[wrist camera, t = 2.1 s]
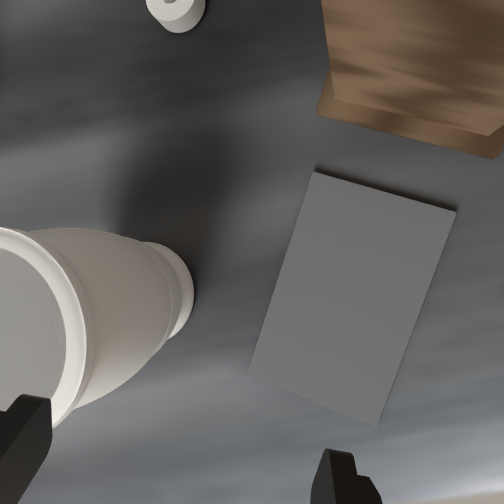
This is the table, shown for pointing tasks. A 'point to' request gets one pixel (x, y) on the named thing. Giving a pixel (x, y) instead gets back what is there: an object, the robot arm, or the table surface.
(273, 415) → the table surface
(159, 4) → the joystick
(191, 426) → the table surface
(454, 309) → the table surface
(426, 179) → the table surface
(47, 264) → the jar
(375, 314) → the mat
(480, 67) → the stand
